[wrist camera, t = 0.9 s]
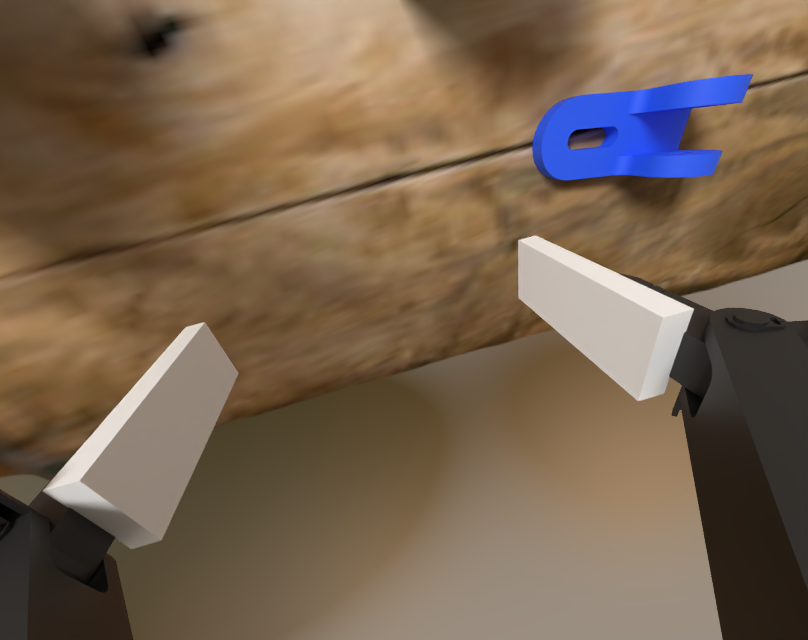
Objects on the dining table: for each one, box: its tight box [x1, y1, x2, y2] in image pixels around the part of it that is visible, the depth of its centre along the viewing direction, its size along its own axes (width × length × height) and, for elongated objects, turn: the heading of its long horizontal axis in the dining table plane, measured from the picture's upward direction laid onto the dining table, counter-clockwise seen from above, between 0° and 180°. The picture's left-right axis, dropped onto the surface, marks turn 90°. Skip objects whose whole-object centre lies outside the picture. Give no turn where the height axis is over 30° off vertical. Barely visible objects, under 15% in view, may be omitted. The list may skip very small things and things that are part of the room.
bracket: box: [533, 74, 753, 180], centre depth 33 cm, size 18×8×9 cm, turn 94°
